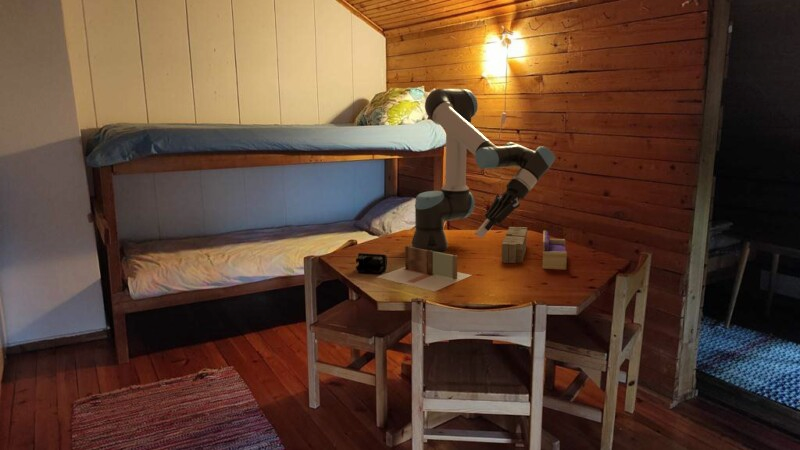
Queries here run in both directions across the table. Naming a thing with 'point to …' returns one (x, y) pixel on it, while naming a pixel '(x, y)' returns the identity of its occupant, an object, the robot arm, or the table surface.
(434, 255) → the fence gate
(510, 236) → the block tower
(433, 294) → the table surface
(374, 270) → the end cap
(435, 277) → the card
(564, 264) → the toy sofa
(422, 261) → the fence fixed
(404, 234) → the table surface
